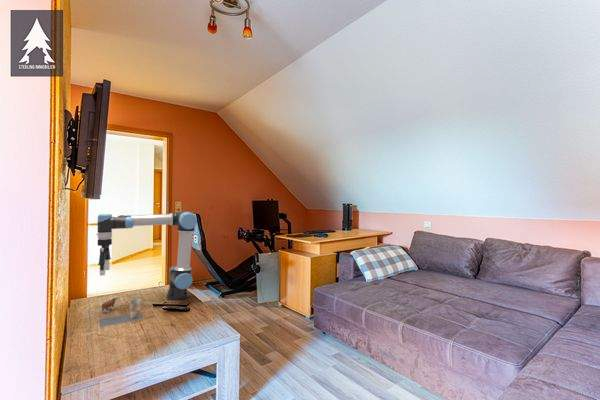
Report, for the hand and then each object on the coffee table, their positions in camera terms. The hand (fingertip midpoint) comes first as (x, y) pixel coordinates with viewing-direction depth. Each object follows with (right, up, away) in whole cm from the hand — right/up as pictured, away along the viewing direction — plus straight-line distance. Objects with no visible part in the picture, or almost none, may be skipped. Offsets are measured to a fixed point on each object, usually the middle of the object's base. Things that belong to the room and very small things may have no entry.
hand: (104, 272), depth 187 cm
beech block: (+20, -27, -1) cm, 34 cm away
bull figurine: (-2, -27, +8) cm, 29 cm away
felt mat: (+14, -28, -5) cm, 31 cm away
